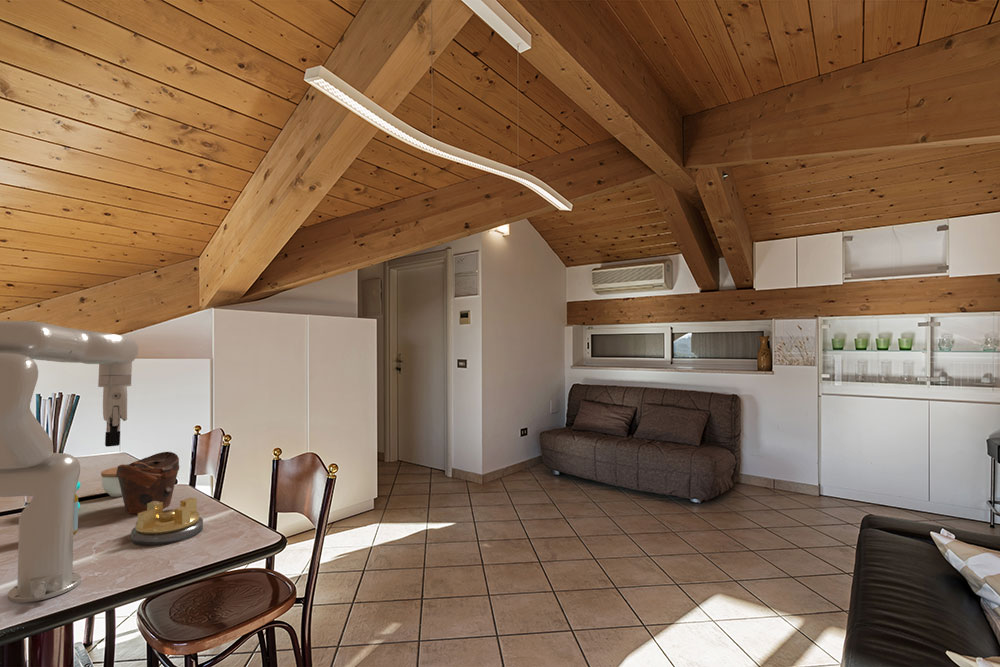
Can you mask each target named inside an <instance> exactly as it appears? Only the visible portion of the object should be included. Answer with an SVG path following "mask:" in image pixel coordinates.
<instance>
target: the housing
mask: <svg viewBox="0 0 1000 667" xmlns="http://www.w3.org/2000/svg"><path fill="white" fill-rule="evenodd" d="M203 529H204V519H203V518H202V517H201V516H199V522H198V523H197V524H196V525H194V526H192V527H190V528H187V529H184V530H181V531H177V532H173V533H168V534H161V535H142V534H138V533H136V531H135V527H133V528H132V530H131V532H130V542H131V544H133V545H135V546H140V547H157V546H164V545H170V544H175V543H179V542H183V541H186V540H188V539H191V538H194V537H195V536H197V535H199V534H200V533H201V532H202V531H203Z"/></svg>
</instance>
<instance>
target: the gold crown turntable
mask: <svg viewBox="0 0 1000 667" xmlns="http://www.w3.org/2000/svg"><path fill="white" fill-rule="evenodd" d="M197 499H198V498H197V497H189V498H185V499H181V500H180V503H179V505H180V506H179V507H177V508H176V507H175V508H174V509H173V508H171V509H166V510H164V508H163V502H159V501H152V502H150V503H147V511H144V512H141V513H138V514H137V521H136V523H135V527H134V528H135V531H136V533H138V534H142V535H161V534H168V533H173V532H177V531H181V530H184V529H187V528H190V527H192V526H194V525H196V524H197V523H198V522H199V517H200V513H199V511H197Z"/></svg>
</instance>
